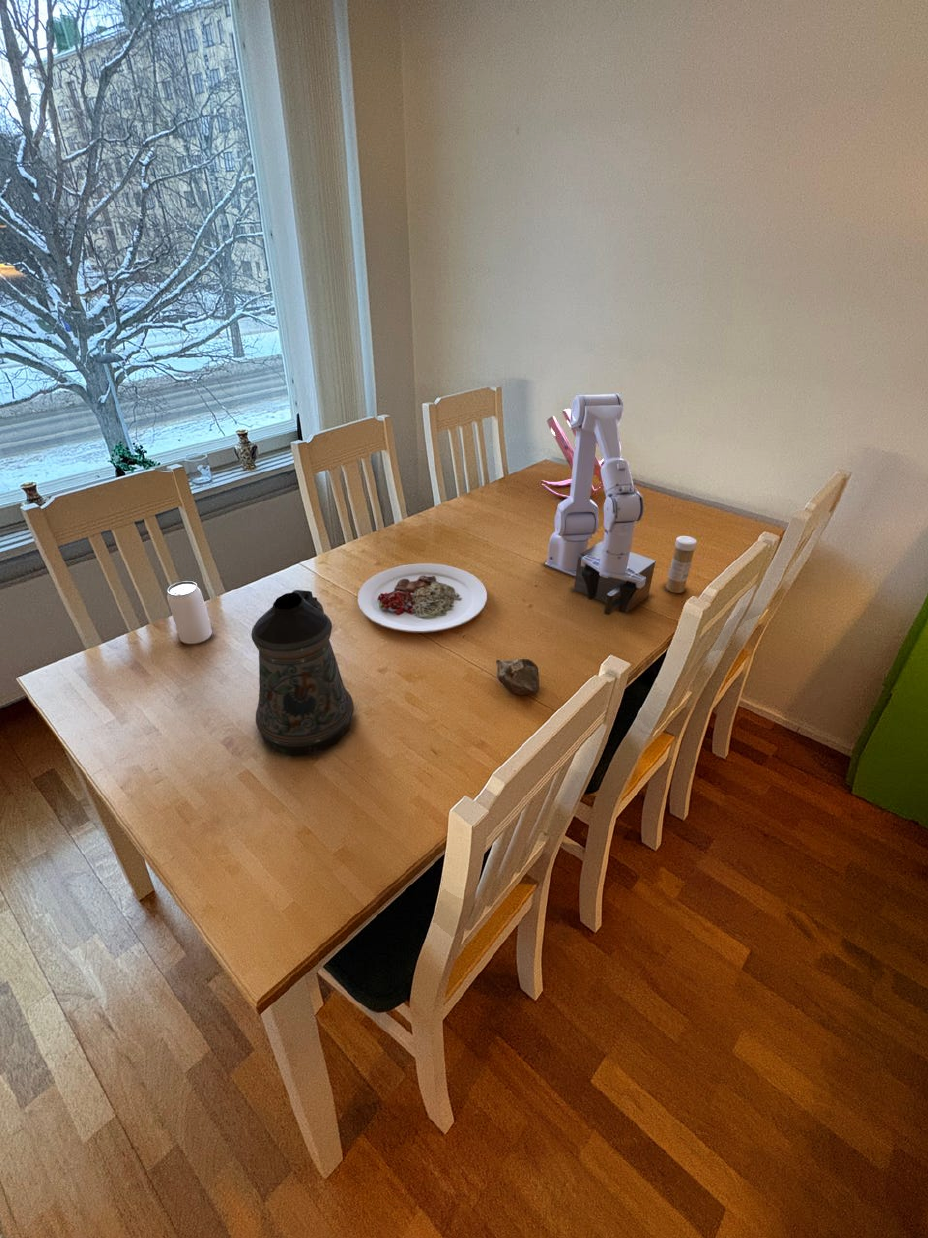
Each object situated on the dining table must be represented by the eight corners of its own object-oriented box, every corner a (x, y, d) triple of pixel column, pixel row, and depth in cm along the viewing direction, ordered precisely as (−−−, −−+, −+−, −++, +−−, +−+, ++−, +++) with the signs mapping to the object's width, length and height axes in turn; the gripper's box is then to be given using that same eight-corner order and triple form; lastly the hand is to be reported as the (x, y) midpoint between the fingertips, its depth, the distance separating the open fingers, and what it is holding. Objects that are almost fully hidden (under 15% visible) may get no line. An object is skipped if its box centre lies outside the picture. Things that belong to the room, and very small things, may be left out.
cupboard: (629, 611, 137) (636, 574, 131) (576, 588, 145) (580, 553, 139) (648, 596, 142) (655, 560, 137) (595, 575, 150) (601, 541, 145)
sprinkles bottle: (676, 583, 148) (688, 533, 140) (688, 592, 144) (701, 542, 136) (661, 586, 146) (672, 536, 139) (672, 595, 143) (684, 545, 135)
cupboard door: (612, 624, 132) (618, 588, 127) (557, 600, 140) (561, 565, 135) (629, 611, 136) (636, 575, 131) (575, 588, 145) (580, 554, 139)
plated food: (512, 600, 140) (513, 587, 138) (420, 656, 122) (420, 642, 120) (424, 558, 157) (424, 546, 155) (331, 601, 139) (330, 589, 137)
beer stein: (266, 770, 96) (235, 646, 82) (251, 696, 111) (222, 580, 97) (365, 741, 102) (352, 620, 88) (338, 675, 116) (323, 562, 102)
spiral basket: (512, 441, 178) (594, 388, 169) (519, 436, 204) (590, 391, 195) (558, 521, 183) (640, 474, 175) (559, 507, 209) (630, 466, 201)
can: (219, 631, 128) (206, 583, 122) (198, 647, 123) (184, 598, 116) (194, 625, 130) (180, 577, 123) (173, 641, 125) (157, 592, 118)
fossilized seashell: (486, 662, 116) (500, 701, 109) (506, 639, 113) (521, 678, 106) (515, 671, 120) (530, 709, 113) (535, 649, 117) (552, 688, 110)
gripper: (576, 544, 125) (569, 599, 133) (638, 567, 117) (626, 624, 125) (594, 533, 130) (586, 587, 137) (655, 555, 121) (643, 610, 129)
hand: (606, 604), depth 131 cm, fingers open, 7 cm apart
